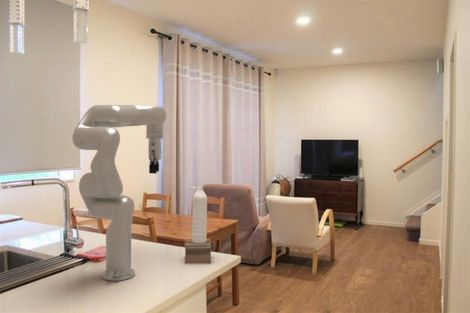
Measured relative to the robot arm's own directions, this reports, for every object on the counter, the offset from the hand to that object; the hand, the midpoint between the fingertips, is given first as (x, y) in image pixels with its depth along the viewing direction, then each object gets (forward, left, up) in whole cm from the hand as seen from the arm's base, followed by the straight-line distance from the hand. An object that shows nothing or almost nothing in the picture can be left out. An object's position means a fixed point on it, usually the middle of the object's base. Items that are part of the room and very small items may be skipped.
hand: (154, 172), depth 177 cm
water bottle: (-9, -20, -31) cm, 38 cm away
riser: (-9, -21, -38) cm, 44 cm away
